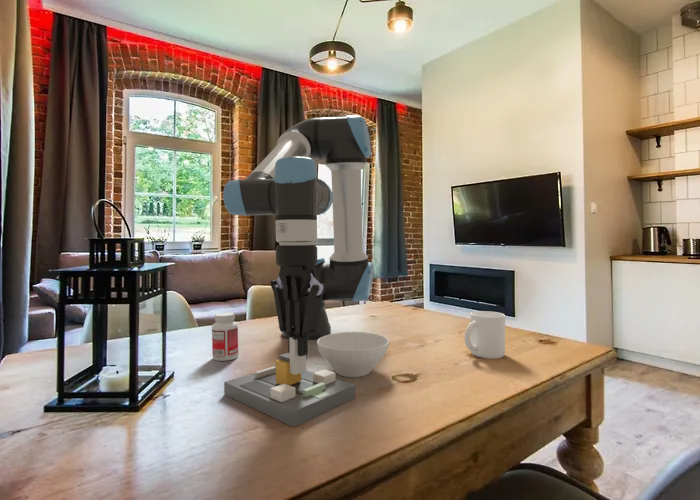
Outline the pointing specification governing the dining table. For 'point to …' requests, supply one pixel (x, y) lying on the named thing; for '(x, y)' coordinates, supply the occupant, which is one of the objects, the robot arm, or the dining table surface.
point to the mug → (486, 334)
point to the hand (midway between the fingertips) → (298, 371)
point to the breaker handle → (285, 371)
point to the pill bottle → (225, 337)
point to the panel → (291, 406)
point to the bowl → (352, 352)
